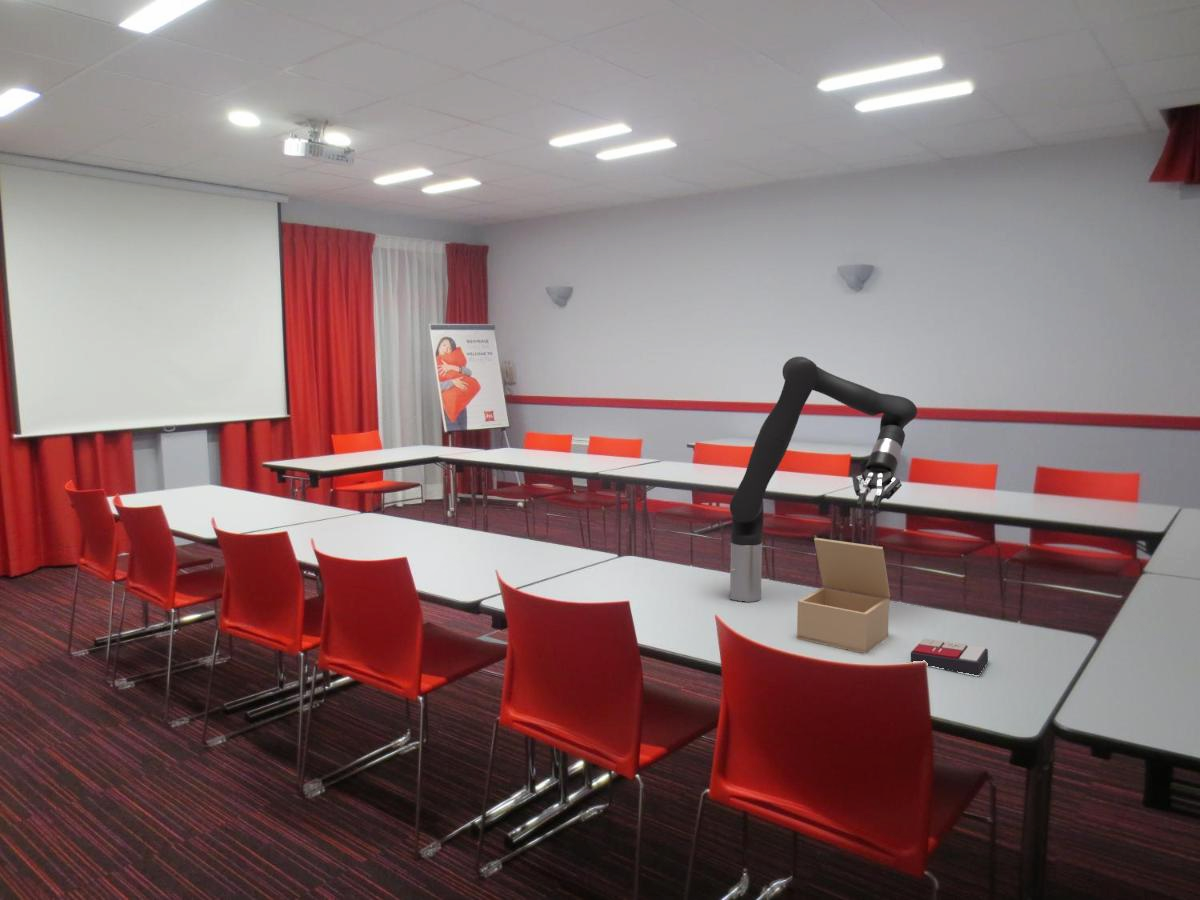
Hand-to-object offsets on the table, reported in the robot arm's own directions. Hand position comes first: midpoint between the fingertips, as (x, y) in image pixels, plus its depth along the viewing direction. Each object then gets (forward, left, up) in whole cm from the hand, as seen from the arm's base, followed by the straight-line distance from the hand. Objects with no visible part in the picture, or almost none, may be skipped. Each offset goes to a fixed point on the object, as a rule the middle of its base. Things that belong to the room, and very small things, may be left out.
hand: (867, 507), depth 217 cm
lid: (-5, -9, -15) cm, 18 cm away
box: (-7, -13, -32) cm, 35 cm away
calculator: (+15, -28, -33) cm, 45 cm away
